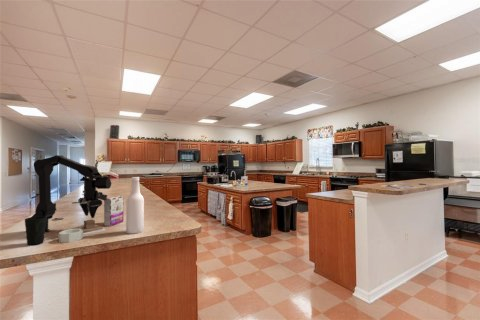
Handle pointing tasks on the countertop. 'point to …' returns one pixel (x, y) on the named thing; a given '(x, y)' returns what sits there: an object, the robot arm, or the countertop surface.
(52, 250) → the countertop surface
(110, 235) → the countertop surface
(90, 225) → the lid
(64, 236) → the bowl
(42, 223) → the cup
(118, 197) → the candy bar box
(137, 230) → the alcohol
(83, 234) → the mat
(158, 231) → the countertop surface
